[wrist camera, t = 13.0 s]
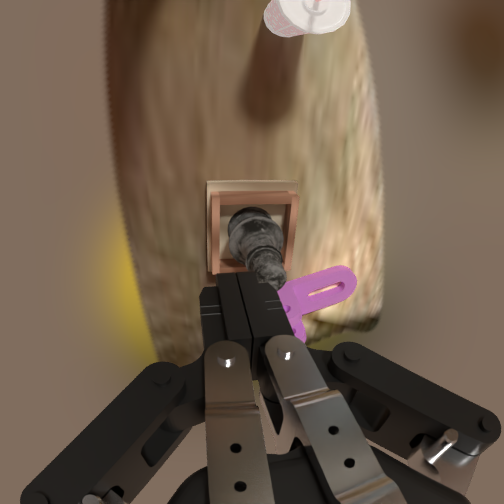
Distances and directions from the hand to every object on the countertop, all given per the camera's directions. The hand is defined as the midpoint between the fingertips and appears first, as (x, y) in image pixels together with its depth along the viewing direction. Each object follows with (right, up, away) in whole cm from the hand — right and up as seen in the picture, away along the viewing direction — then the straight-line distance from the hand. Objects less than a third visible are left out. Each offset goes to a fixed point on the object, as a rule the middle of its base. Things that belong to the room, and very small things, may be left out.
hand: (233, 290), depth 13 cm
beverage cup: (+4, +26, +14) cm, 30 cm away
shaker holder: (0, +5, +25) cm, 26 cm away
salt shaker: (+1, +4, +24) cm, 25 cm away
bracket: (+9, -4, +32) cm, 34 cm away
